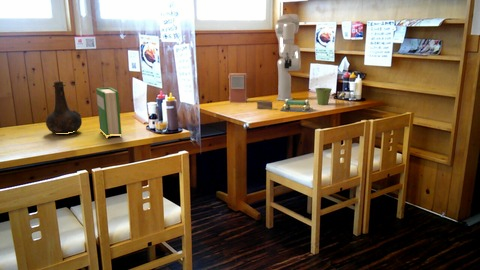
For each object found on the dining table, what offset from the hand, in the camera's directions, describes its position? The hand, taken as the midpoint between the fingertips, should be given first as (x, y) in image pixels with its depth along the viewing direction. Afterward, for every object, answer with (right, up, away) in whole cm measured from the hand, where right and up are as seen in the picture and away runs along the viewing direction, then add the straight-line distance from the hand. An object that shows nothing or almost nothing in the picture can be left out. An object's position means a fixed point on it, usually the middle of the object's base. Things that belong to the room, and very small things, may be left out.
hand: (288, 67), depth 290 cm
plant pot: (+27, -25, +14) cm, 39 cm away
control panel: (-34, -22, +29) cm, 50 cm away
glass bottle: (-128, -46, -61) cm, 149 cm away
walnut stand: (-16, -28, 0) cm, 33 cm away
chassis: (+5, -30, -6) cm, 31 cm away
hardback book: (-102, -46, -66) cm, 130 cm away
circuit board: (+5, -26, -7) cm, 27 cm away
